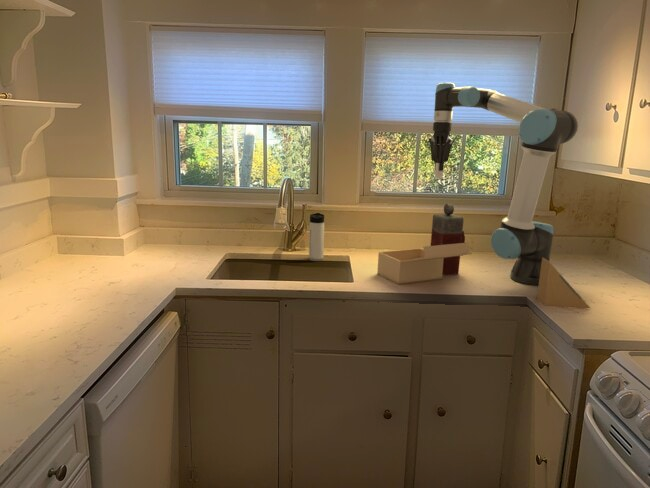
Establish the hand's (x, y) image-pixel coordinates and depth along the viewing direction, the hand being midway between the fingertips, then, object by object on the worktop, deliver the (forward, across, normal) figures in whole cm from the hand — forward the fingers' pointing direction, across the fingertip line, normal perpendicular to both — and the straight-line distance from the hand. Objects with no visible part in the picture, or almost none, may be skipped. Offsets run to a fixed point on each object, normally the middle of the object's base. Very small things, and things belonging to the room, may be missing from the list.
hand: (438, 178), depth 213 cm
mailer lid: (+21, +29, -28) cm, 46 cm away
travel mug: (+36, -22, -47) cm, 63 cm away
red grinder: (+37, +17, -8) cm, 41 cm away
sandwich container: (+37, +63, +2) cm, 73 cm away
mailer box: (+36, +16, -26) cm, 48 cm away
